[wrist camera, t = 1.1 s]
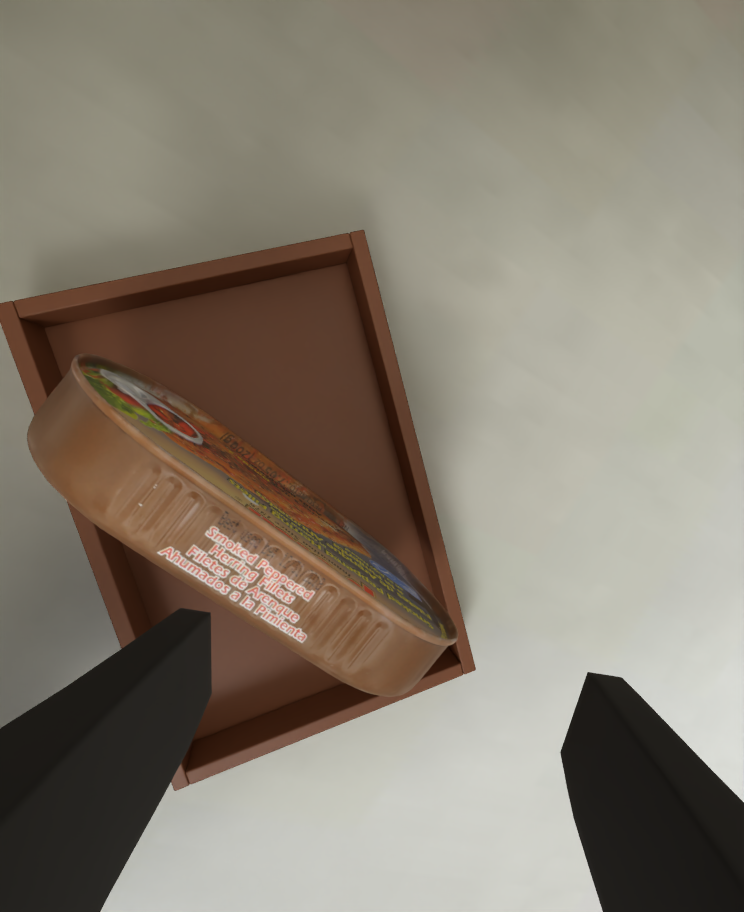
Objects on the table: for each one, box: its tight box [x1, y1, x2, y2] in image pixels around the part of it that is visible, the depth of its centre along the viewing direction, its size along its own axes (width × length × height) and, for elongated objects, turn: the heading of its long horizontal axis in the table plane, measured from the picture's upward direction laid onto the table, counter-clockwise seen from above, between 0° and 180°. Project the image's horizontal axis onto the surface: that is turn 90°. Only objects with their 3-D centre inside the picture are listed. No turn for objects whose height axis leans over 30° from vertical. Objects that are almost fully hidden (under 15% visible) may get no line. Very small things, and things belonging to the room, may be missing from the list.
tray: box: [0, 230, 476, 791], centre depth 19 cm, size 13×19×2 cm
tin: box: [27, 353, 459, 697], centre depth 15 cm, size 15×3×8 cm, turn 51°
